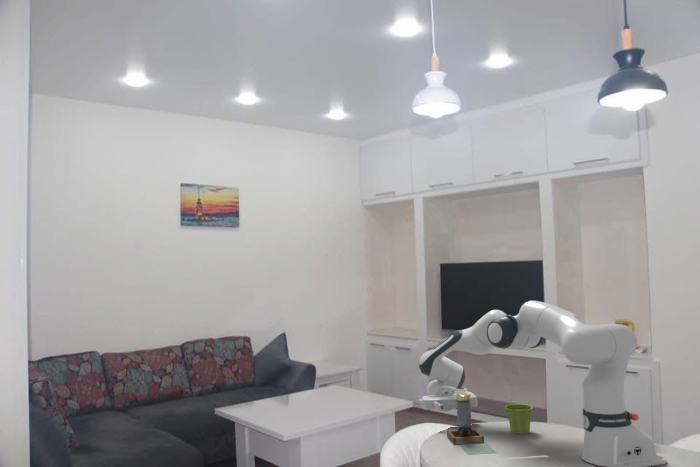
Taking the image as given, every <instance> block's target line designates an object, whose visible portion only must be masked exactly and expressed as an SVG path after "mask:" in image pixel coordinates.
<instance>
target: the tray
mask: <svg viewBox="0 0 700 467" xmlns="http://www.w3.org/2000/svg"><path fill="white" fill-rule="evenodd" d="M446 437H447V438H448V439H449V440H450V441H451V443H452V444H453V445H466V444H469V445H470V444H481V443H482V444H485V437H484V435H483V434H482V433H481V432H480V431H479V430H478V429H476V428H472V436H470V437H458V429H455V430H452V429H451V430H446Z"/></svg>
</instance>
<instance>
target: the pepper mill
mask: <svg viewBox="0 0 700 467" xmlns="http://www.w3.org/2000/svg"><path fill="white" fill-rule="evenodd" d="M456 400H457V408H456V413H457V414H456V416H457V418H456V419H457V420H456V421H457V430H458V437H470V436H472V429H473V428H472V409H471V408H472V407H471V403H470V400H471V395H470V394H466V393H460V394H456Z"/></svg>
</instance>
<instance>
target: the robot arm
mask: <svg viewBox="0 0 700 467" xmlns="http://www.w3.org/2000/svg"><path fill="white" fill-rule="evenodd" d="M546 340H547V341H549V342H551V343H553V344H556V345H557V346H559V347H561V350H562V353H563V355H564V357H565V358H566V359H567V360H568V361H569V362H570V363H572V364H576V365H582V366H583V365H584V366H590V369H589V372H588V374H587V375H586V376H585V377H584V378H583V381H582V398H583V408H582V424H583V430H584V431H583V432H584V433H583V434H584V435H583V446H582V451H581V455H580V457H581V459H582V460H583V461H585V462H586V463H589V464H592V465H596V466H601V467H651V466H653V467H654V466H659V465H665V464H666V463H667V462H666V461H667V460H666V458H665V456H663V455H662V454H660V453H659V452H657V449H656V445H655V442H654V440H653V439H652V437H651V436H650V435H648V434H647V433H645V431H643V430H642V429H640V428H639V427H637V426H636V425H635V424H633V422H632V421H634V422H638V421H639V419H640V417H639V415H638V414H637V413H635V412H629V411H628V410H625V409H626V408H625V399H624V396H625V387H624V386H625V380H626V378H625V377H626V373H627V369H628V365H629V362H630V359H631V357H632V355H633V354H634V353H635V352H636V350H637V348H638V339H637V335H636V334H635V331H634V330H633V329H632V328H631V327H629V326H627V325H624V324H620V323H613V322H611V323H603V324H587V323H583V322H581V320H580V317H579V316H578V315H577V314H576V313H574V312H571V311H570V310H569V311H568V310H566V309H565V308H562V307H559V306H556V305H553V304H551V303H547V302H545V301H544V302H543V301H538V300H528V301H526V302H524V303H523V304H522V305H521V307H520V308H519V312H518V313H517V314H516V315H511V314H507V313H505V312H504V311H502V310H500V309H492V310H490V311H488V312H487V313H485V314H484V315H483V316H482V317H480V319H478V320H477V321H476V322H475V323H474V324H473V325H472V326H470V327H468V328H465V329H458V330H455V331H454V332H451V333H450V334H449V335H448V336H446V337H445V338H444V339H443V340H441V341H439V343H437V344H436V345H434V346H433V347H431V348H429V349H427V350H426V351H424V352H423V354H422V355H421V356H420V358H419V360H418V363H417V364H418V368H419V370H420V372H421V374H422V375H425V376H427V377H430V378H432V379H434V380H431V381H430V382H429V383H428V385H427V388H426V393H427V395H423V396H421V398H419V399H418V402H419V403H420V404H421V407H422V409H423V410H426V411H428V410H440V411H444V412H445V411H446V412H448V411H451V410H454V409H457V400H456V394H460V393H466V394H470V395H471V400H470V403H471V408H476V407H478V396H477V395H475V393H473V392H471V391H469V390H468V389H467V388H465V387H464V388H463V386H464V382H465V380H466V372H465V368H464V366H463V365H461V364H459V363H457V362H456V361H454V360H452V359H450V358H448V357H446V355H448V354H449V353H450V352H453V351H461V352H466V353H469V354H473V355H477V356H483V355H484V356H485V355H487V354H489V353H491V352H493V351H494V350H495V349H496V348H499V349H503V350H504V349H505V350H506V349H511V350H525V349H536V348H538V347H541V346H542V345H543V344H544V342H545V341H546Z"/></svg>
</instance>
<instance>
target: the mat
mask: <svg viewBox="0 0 700 467" xmlns="http://www.w3.org/2000/svg"><path fill="white" fill-rule="evenodd" d="M460 448H461V449H462V451H464V452H465V453H466V455H468V456H469V455H470V456H471V455H484V454H485V455H486V454H497V452H496V450H495V449H493V448H492V447H491V446H490V445H489V444H488V443H482V444H481V443H480V444H469V445H466V444H464V445H460Z"/></svg>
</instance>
